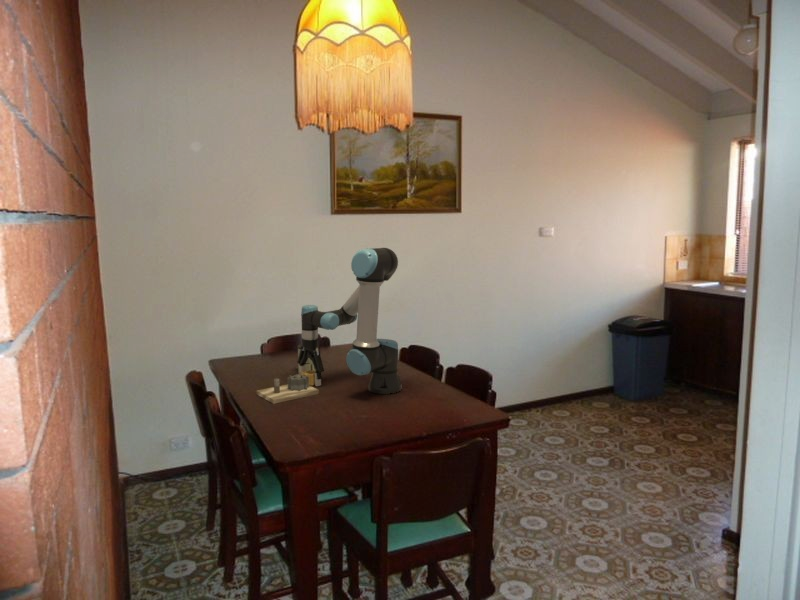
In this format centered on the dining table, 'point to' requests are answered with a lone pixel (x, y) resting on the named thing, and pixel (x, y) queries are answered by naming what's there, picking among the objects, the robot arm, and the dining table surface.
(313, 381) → the gear
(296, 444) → the dining table surface
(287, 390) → the gear board
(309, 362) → the coffee can
